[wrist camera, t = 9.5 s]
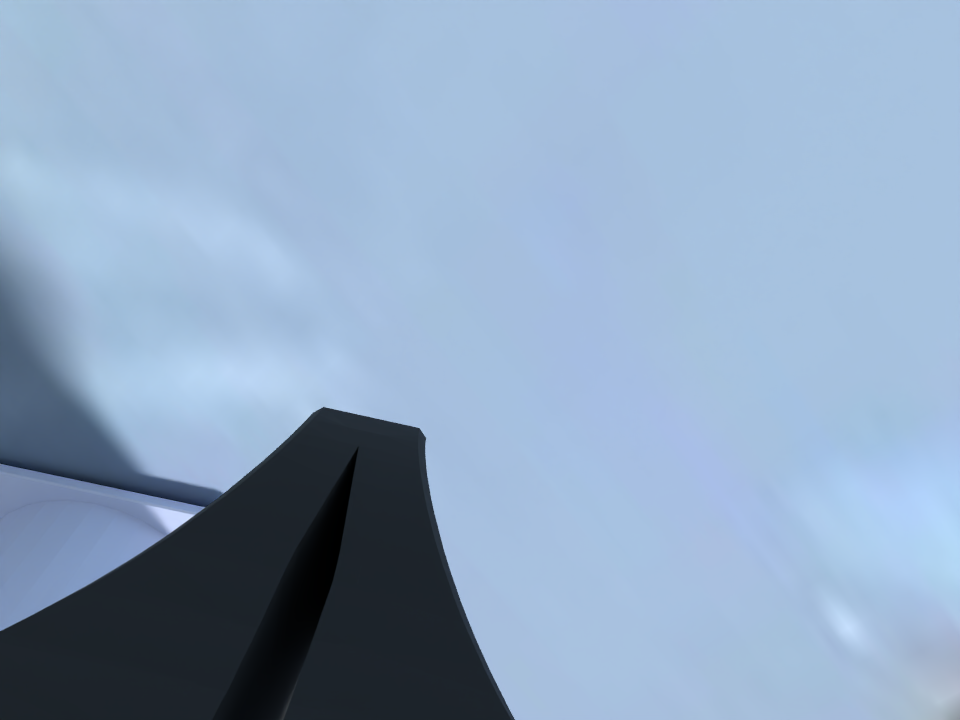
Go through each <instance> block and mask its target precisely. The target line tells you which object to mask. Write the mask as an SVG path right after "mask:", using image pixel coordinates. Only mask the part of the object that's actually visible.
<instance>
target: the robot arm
mask: <svg viewBox="0 0 960 720" xmlns="http://www.w3.org/2000/svg"><path fill="white" fill-rule="evenodd" d="M425 441H426V437H425V436H424V434H423V433H422V431H421V430H420V429H419V428H416V427H412V426H407V425H402V424H398V423H393V422H389V421H384V420H380V419H375V418H371V417H366V416H361V415H357V414H352V413H348V412H343V411H339V410H334V409H330V408H325V407H323V408H321V409H319V410H317V411H316V412H314V413H313V414H312V415H311V416H310V417H309V418H308V419H307V420H306V421H305V422H304V423H303V424H302V425H301V426H300V427H299V428H298V429H297V430H296V431H295V432H294V433H293V434H292V435H291V436H290V437H289V438H288V439H287V440H286V441H285V442H283V443H282V444H281V445H280V446H279V447H278V448H277V449H276V450H275V451H274V452H272V453H271V454H270V455H269V456H268V457H267V458H266V459H265V460H264V461H262V462H261V463H260V464H259V465H258V466H256V467H255V468H254V469H253V470H252V471H250V472H249V473H248V474H247V475H246V476H244V477H243V478H242V479H241V480H240V481H238V482H237V483H236V484H235V485H234V486H232V487H231V488H230V489H229V490H228V491H226V492H225V493H224V494H223V495H221V496H220V497H219V498H217V499H216V500H215V501H213V502H212V503H211V504H209V505H208V506H207V507H201V506H196V505H192V504H187V503H182V502H178V501H173V500H168V499H163V498H159V497H154V496H149V495H145V494H140V493H135V492H130V491H126V490H121V489H116V488H112V487H107V486H102V485H98V484H93V483H88V482H83V481H79V480H74V479H69V478H65V477H60V476H55V475H50V474H46V473H41V472H36V471H32V470H27V469H22V468H17V467H13V466H8V465H3V464H0V720H515V719H514V717H513V716H512V714H511V712H510V710H509V708H508V706H507V704H506V702H505V700H504V698H503V696H502V694H501V692H500V690H499V688H498V686H497V684H496V682H495V680H494V678H493V676H492V674H491V672H490V670H489V668H488V665H487V663H486V661H485V659H484V657H483V654H482V652H481V650H480V648H479V645H478V643H477V641H476V639H475V636H474V634H473V631H472V629H471V627H470V624H469V622H468V619H467V617H466V614H465V611H464V609H463V606H462V604H461V601H460V598H459V595H458V592H457V589H456V586H455V584H454V581H453V578H452V575H451V572H450V569H449V566H448V562H447V559H446V556H445V553H444V549H443V545H442V542H441V538H440V534H439V530H438V526H437V522H436V518H435V515H434V510H433V506H432V501H431V496H430V490H429V484H428V478H427V470H426V460H425Z"/></svg>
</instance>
